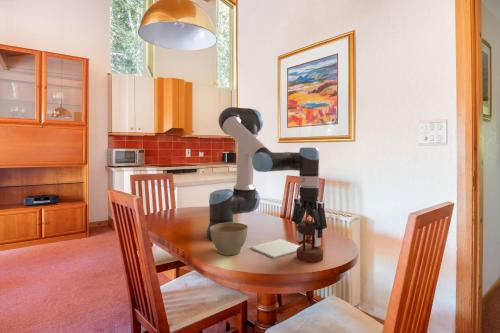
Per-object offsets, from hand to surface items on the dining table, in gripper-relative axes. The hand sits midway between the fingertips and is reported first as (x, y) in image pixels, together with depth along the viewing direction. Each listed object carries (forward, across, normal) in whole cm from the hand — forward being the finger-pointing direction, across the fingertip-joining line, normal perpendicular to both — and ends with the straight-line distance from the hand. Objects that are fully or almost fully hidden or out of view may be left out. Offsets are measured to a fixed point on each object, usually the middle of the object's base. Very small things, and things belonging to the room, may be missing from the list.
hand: (308, 242), depth 119 cm
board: (+6, -16, -2) cm, 17 cm away
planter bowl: (+7, -26, -21) cm, 34 cm away
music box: (+7, 0, 0) cm, 7 cm away
